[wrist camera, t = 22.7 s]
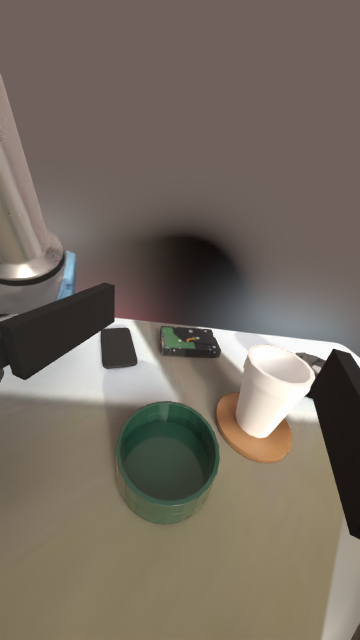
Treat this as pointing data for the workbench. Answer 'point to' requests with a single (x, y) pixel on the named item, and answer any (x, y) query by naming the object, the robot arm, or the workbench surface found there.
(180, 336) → the disk drive
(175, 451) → the pot
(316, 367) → the cpu cooler
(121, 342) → the phone
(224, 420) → the pot holder
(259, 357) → the foam cup
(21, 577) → the workbench surface
